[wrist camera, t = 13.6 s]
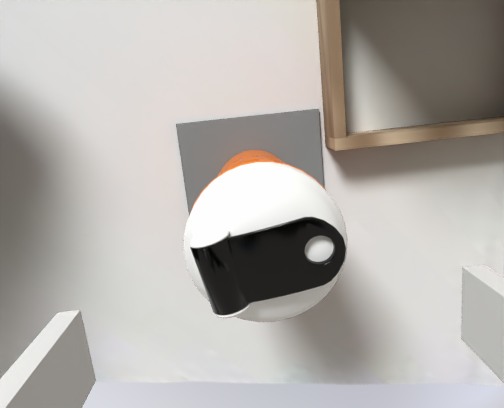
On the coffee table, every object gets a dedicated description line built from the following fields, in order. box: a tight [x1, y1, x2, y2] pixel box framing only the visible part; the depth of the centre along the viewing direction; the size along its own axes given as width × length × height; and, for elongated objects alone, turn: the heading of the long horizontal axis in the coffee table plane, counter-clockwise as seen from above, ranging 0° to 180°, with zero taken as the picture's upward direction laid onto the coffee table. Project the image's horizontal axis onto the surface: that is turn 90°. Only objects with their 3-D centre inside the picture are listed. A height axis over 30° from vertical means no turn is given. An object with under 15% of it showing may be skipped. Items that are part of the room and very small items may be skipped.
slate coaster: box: [176, 109, 324, 215], centre depth 39 cm, size 13×13×1 cm
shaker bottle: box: [183, 150, 347, 322], centre depth 29 cm, size 9×9×20 cm
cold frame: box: [316, 0, 504, 151], centre depth 27 cm, size 19×17×20 cm
